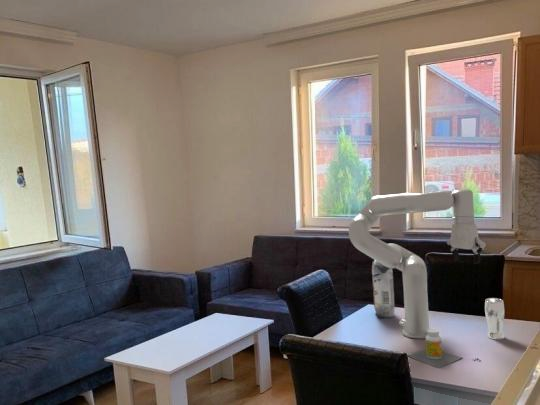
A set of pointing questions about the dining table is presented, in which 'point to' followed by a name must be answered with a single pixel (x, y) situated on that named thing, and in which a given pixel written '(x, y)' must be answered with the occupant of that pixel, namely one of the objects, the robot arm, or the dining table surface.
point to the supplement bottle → (433, 344)
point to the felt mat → (438, 363)
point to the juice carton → (383, 289)
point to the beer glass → (494, 318)
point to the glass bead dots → (476, 359)
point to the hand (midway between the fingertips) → (466, 262)
